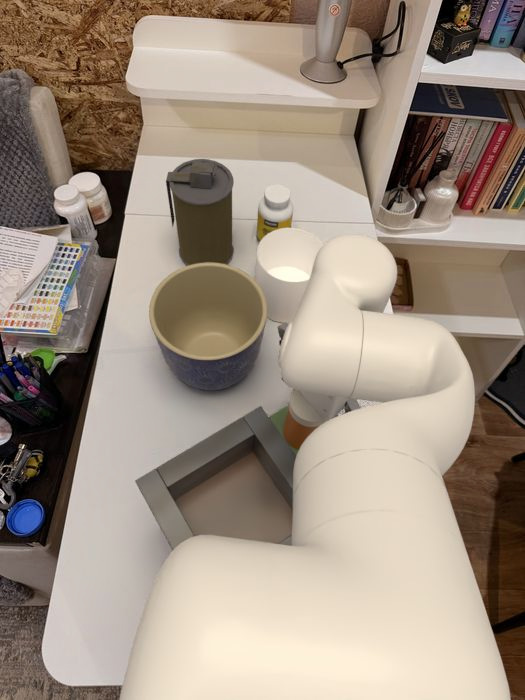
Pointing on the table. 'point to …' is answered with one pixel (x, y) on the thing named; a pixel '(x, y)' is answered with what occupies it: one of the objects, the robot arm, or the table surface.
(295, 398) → the medicine bottle
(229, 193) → the canister
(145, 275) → the table surface
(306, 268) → the cup
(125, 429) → the table surface
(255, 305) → the planter
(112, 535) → the table surface
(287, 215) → the pill bottle
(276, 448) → the metal storage bin
